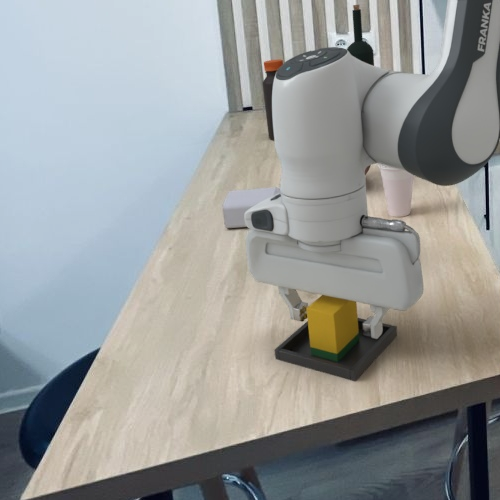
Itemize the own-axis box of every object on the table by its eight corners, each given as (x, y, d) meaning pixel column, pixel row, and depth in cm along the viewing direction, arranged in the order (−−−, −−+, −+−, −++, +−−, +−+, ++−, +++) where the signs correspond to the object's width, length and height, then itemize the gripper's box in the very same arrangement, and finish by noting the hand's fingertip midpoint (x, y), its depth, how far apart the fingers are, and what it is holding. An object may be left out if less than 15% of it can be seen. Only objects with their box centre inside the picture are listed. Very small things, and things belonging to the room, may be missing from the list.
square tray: (397, 338, 76) (396, 326, 75) (355, 385, 69) (354, 371, 68) (321, 321, 82) (320, 309, 81) (275, 362, 75) (274, 349, 74)
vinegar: (269, 141, 173) (260, 64, 166) (268, 136, 179) (259, 61, 172) (295, 138, 173) (287, 60, 165) (292, 133, 179) (285, 57, 172)
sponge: (359, 340, 76) (356, 294, 74) (338, 362, 72) (333, 314, 70) (333, 334, 78) (328, 289, 76) (310, 354, 74) (305, 308, 72)
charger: (310, 224, 114) (225, 230, 116) (312, 206, 122) (233, 212, 125) (307, 198, 112) (221, 205, 114) (310, 182, 120) (230, 188, 123)
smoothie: (411, 221, 109) (408, 138, 104) (374, 218, 112) (369, 138, 107) (423, 208, 114) (421, 128, 109) (388, 205, 117) (384, 128, 112)
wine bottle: (349, 122, 182) (341, 8, 171) (348, 114, 192) (341, 6, 180) (378, 119, 181) (372, 4, 170) (376, 111, 190) (370, 2, 179)
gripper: (431, 211, 65) (434, 332, 70) (264, 194, 77) (277, 298, 82) (405, 234, 61) (410, 362, 66) (231, 212, 73) (247, 321, 78)
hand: (335, 326), depth 74 cm, fingers open, 8 cm apart
